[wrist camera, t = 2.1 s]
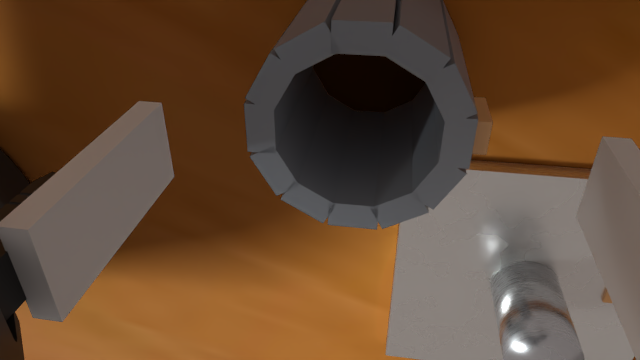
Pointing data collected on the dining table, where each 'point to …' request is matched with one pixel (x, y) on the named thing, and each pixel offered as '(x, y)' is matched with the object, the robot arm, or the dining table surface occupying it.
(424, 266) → the square plate
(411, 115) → the sleeve
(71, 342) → the dining table surface
